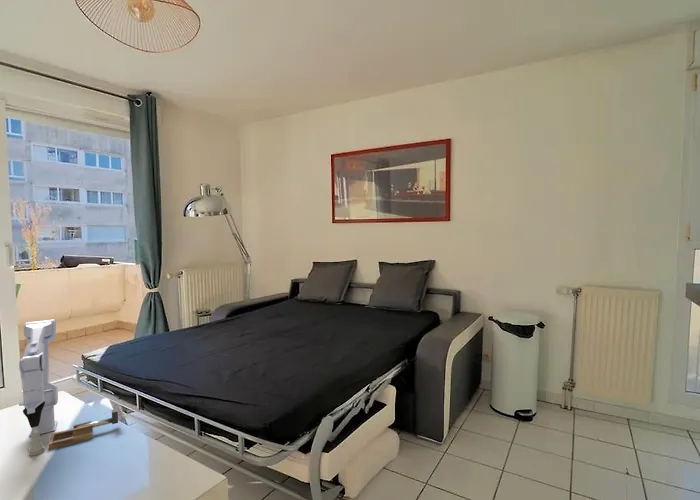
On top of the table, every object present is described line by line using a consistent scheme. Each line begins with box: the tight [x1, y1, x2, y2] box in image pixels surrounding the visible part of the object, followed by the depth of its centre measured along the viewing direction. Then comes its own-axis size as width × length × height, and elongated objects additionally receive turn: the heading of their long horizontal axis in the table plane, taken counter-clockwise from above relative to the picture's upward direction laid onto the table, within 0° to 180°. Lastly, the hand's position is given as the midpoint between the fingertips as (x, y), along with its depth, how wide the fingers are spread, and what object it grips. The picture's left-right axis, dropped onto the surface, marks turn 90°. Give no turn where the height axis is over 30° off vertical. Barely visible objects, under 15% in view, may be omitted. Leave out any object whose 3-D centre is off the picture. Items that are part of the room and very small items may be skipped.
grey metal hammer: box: [77, 408, 119, 429], centre depth 148 cm, size 3×14×5 cm, turn 124°
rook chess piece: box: [27, 429, 45, 457], centre depth 134 cm, size 4×4×8 cm
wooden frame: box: [48, 420, 93, 450], centre depth 143 cm, size 9×13×4 cm
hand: (35, 425), depth 134 cm, fingers closed
